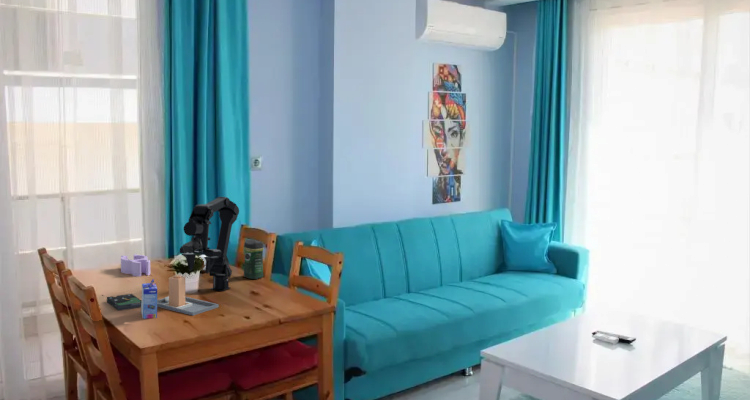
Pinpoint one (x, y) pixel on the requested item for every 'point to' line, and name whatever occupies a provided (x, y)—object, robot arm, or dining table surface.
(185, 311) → the grey rectangular tray
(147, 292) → the ink cartridge box
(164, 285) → the dining table surface
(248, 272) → the coffee jar
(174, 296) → the block
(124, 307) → the disk drive
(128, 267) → the clip
